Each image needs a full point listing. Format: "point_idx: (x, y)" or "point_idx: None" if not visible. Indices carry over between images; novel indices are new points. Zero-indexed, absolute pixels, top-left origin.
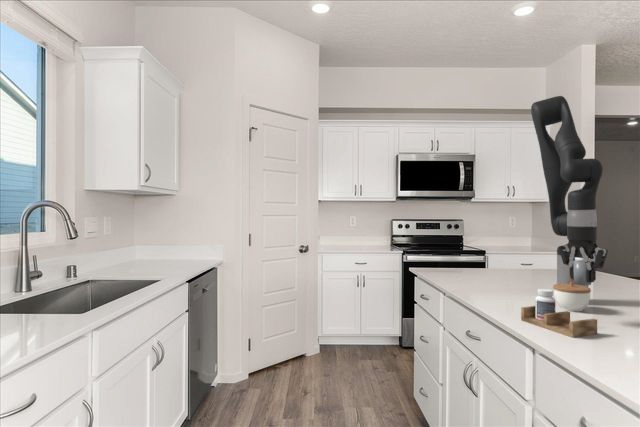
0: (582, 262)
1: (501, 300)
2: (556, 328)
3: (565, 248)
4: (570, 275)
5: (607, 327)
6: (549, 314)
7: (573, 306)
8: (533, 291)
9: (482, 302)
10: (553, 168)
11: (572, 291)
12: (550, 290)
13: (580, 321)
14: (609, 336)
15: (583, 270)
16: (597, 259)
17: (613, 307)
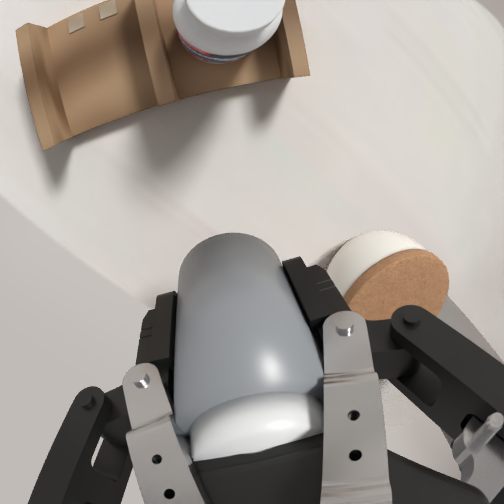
0: (185, 403)
1: (491, 120)
2: (94, 5)
3: (492, 451)
4: (320, 273)
5: (139, 227)
6: None
7: (336, 254)
8: (497, 279)
9: (485, 42)
10: None
11: (359, 282)
12: (217, 15)
13: (22, 66)
14: (46, 164)
15: (180, 337)
16: (60, 466)
17: None
